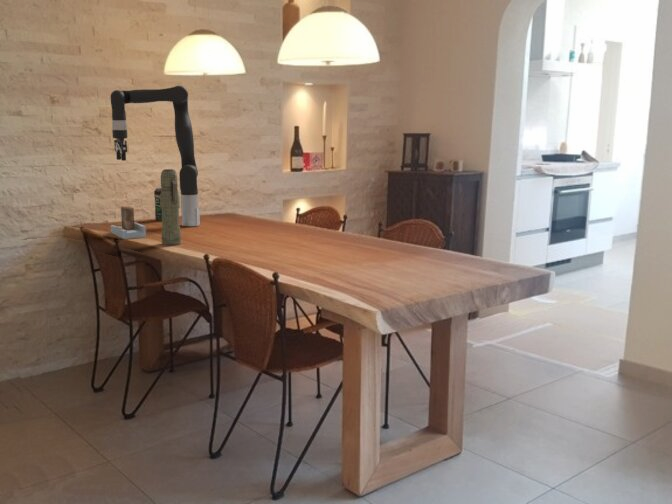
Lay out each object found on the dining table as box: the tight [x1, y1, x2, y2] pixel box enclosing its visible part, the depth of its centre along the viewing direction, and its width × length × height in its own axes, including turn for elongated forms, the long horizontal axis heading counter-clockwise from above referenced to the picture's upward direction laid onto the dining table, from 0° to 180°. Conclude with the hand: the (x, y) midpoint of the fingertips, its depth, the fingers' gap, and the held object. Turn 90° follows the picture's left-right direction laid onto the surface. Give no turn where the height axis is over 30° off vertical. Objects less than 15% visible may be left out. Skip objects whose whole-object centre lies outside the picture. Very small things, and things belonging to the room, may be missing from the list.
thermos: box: [160, 168, 182, 247], centre depth 317 cm, size 9×12×35 cm
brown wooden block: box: [120, 205, 135, 230], centre depth 342 cm, size 4×8×11 cm, turn 34°
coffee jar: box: [154, 187, 162, 222], centre depth 391 cm, size 10×8×19 cm
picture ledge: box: [110, 221, 147, 240], centre depth 343 cm, size 11×22×6 cm, turn 34°
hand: (121, 160), depth 361 cm, fingers open, 8 cm apart
